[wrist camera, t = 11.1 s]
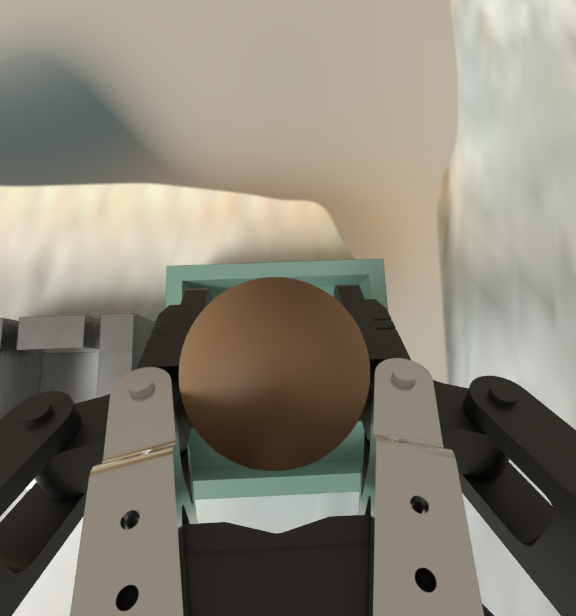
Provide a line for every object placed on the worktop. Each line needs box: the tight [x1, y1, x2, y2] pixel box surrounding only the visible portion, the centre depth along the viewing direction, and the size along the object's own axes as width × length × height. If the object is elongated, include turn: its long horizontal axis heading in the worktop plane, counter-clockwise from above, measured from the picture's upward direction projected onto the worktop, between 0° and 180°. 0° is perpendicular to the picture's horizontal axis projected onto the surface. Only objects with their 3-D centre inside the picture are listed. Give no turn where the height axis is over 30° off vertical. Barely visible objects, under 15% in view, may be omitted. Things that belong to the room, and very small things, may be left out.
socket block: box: [0, 313, 155, 489], centre depth 24 cm, size 10×10×4 cm
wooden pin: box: [179, 277, 370, 471], centre depth 14 cm, size 4×4×13 cm
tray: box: [166, 259, 388, 500], centre depth 24 cm, size 14×14×4 cm
